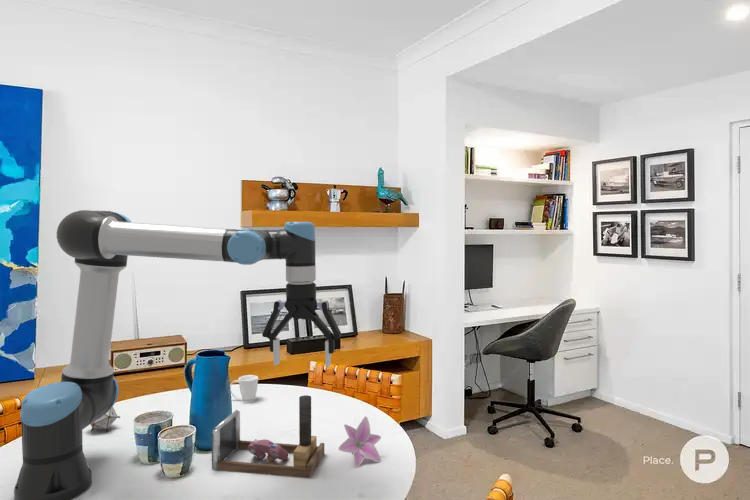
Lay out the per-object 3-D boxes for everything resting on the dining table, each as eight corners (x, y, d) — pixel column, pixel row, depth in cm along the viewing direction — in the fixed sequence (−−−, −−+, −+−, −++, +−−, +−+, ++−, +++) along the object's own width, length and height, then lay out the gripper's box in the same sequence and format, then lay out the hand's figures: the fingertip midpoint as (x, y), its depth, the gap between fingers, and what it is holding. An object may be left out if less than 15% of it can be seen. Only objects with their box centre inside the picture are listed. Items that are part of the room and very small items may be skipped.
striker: (305, 472, 125) (305, 404, 124) (293, 471, 126) (293, 403, 125) (316, 454, 135) (316, 391, 134) (305, 453, 135) (305, 390, 135)
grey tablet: (218, 470, 127) (217, 428, 126) (210, 469, 127) (209, 428, 127) (241, 447, 140) (240, 409, 140) (234, 446, 141) (233, 408, 140)
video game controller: (250, 463, 134) (242, 445, 131) (259, 449, 138) (252, 431, 134) (282, 470, 130) (275, 451, 127) (291, 455, 134) (284, 437, 131)
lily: (330, 471, 129) (342, 445, 125) (333, 435, 140) (344, 410, 136) (375, 482, 131) (388, 456, 127) (374, 446, 142) (386, 421, 138)
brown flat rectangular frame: (310, 477, 123) (310, 465, 123) (216, 469, 127) (216, 457, 127) (324, 454, 136) (324, 443, 136) (238, 447, 140) (238, 436, 140)
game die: (110, 439, 153) (131, 410, 156) (92, 441, 145) (115, 410, 148) (89, 422, 156) (111, 393, 158) (71, 422, 148) (94, 392, 150)
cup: (256, 404, 174) (255, 380, 173) (226, 404, 174) (226, 380, 174) (261, 397, 181) (260, 374, 180) (233, 397, 181) (232, 374, 181)
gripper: (352, 281, 131) (353, 362, 132) (259, 280, 135) (261, 359, 136) (346, 284, 124) (347, 370, 125) (248, 283, 128) (250, 367, 129)
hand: (302, 365), depth 131 cm, fingers open, 13 cm apart
